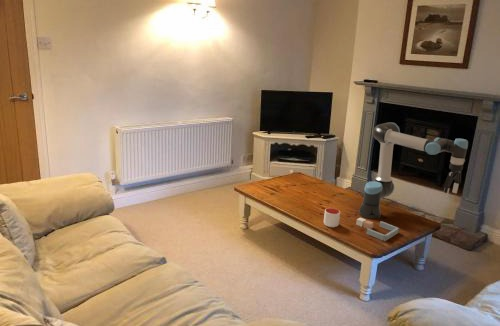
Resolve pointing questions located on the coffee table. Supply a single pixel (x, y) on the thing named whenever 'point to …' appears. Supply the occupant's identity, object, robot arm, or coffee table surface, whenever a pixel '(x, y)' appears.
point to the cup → (331, 217)
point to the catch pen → (380, 236)
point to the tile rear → (360, 222)
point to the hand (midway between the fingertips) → (449, 195)
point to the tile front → (368, 224)
